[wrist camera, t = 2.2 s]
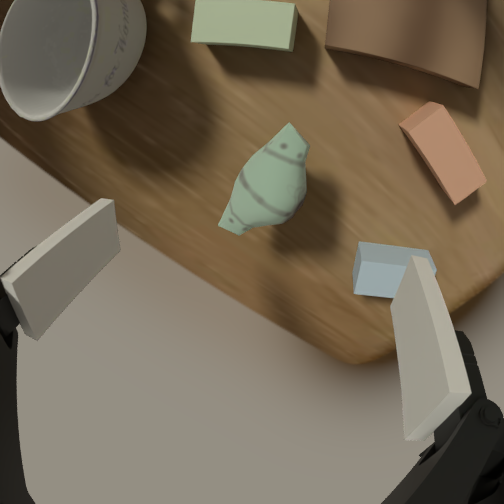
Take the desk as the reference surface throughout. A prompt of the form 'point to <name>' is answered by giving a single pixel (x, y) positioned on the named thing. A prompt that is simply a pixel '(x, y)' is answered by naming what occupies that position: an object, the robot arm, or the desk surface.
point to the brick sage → (245, 23)
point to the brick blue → (382, 268)
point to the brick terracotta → (444, 150)
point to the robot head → (269, 184)
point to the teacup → (67, 53)
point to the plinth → (414, 34)
